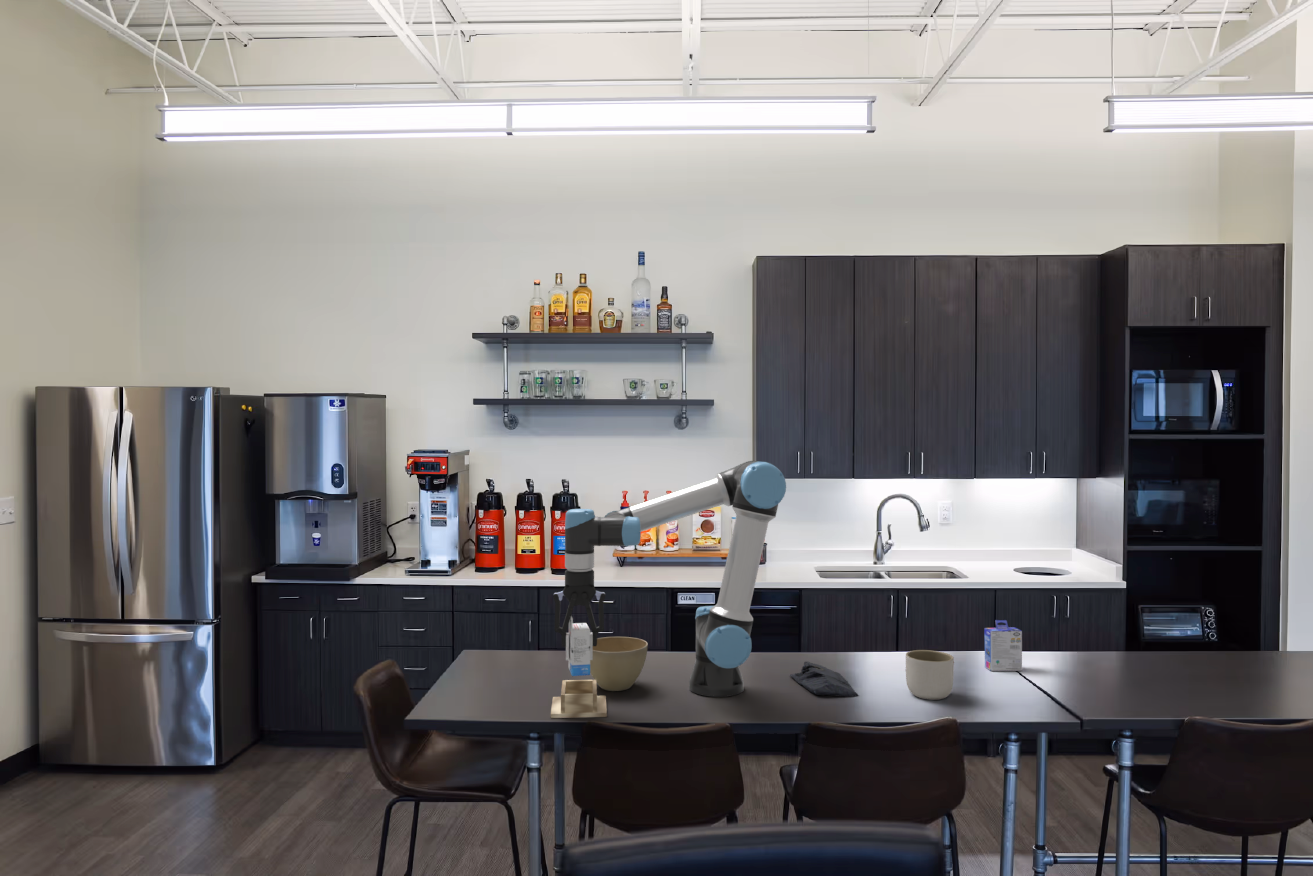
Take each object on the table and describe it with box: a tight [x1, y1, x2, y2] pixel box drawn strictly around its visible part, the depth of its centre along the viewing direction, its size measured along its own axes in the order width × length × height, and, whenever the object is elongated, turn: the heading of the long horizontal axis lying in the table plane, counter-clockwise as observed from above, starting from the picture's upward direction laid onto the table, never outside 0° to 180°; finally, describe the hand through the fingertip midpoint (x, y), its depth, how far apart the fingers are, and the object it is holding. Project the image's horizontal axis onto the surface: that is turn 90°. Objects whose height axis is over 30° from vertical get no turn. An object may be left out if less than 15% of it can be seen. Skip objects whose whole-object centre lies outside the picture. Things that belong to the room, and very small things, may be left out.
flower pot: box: [590, 636, 648, 692], centre depth 239 cm, size 18×18×12 cm
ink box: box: [568, 615, 591, 677], centre depth 220 cm, size 8×5×15 cm, turn 12°
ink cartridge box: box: [983, 619, 1023, 672], centre depth 258 cm, size 10×6×14 cm, turn 92°
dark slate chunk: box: [789, 661, 859, 698], centre depth 241 cm, size 15×22×5 cm
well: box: [550, 679, 608, 719], centre depth 220 cm, size 14×14×6 cm
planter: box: [905, 649, 955, 701], centre depth 232 cm, size 12×12×11 cm
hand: (579, 658), depth 220 cm, fingers closed on ink box, 5 cm apart
